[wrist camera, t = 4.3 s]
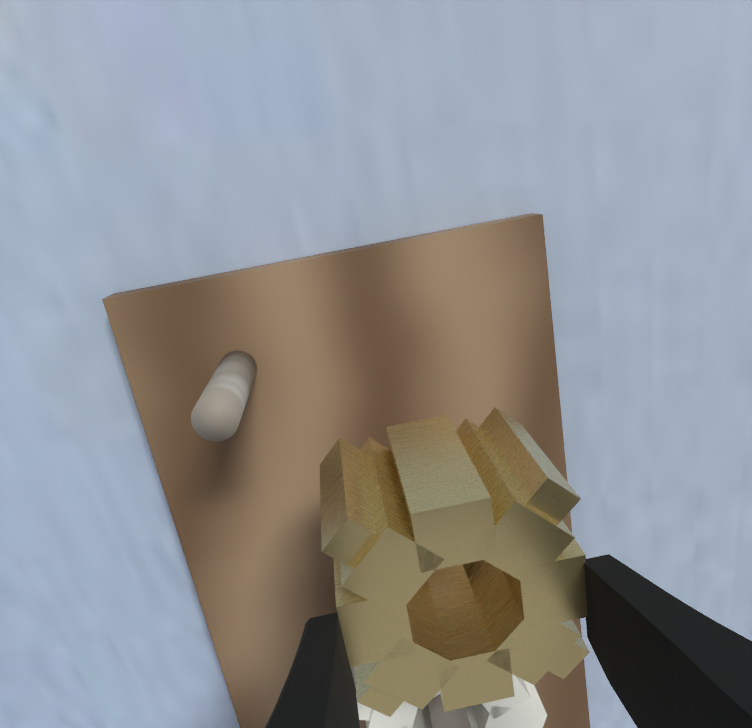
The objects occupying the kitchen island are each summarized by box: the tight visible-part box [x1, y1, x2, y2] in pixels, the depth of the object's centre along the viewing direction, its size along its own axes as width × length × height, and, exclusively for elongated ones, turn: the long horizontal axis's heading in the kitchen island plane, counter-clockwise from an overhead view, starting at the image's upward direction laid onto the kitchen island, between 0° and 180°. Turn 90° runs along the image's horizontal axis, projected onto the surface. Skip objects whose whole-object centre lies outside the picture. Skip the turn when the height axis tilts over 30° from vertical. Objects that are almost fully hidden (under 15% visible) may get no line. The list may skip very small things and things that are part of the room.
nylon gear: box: [351, 667, 547, 728], centre depth 21 cm, size 5×5×4 cm
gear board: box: [102, 214, 590, 728], centre depth 20 cm, size 14×22×6 cm, turn 10°
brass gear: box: [320, 407, 589, 717], centre depth 14 cm, size 5×5×4 cm
